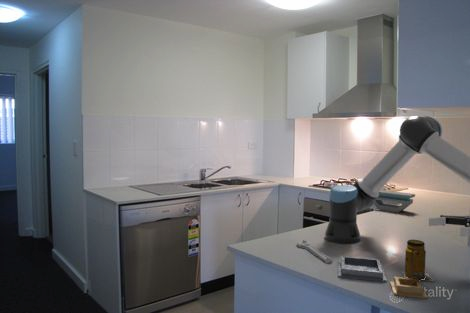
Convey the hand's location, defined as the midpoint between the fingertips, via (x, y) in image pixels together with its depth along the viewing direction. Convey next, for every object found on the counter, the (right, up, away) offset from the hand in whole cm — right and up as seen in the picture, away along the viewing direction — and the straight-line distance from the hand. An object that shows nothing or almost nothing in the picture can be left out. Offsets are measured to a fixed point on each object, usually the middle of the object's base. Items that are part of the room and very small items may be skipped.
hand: (444, 226), depth 126 cm
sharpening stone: (+24, -9, +101) cm, 104 cm away
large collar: (-27, -16, +4) cm, 32 cm away
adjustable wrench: (-39, -15, +24) cm, 49 cm away
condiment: (-10, -17, -1) cm, 19 cm away
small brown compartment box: (-18, -17, -12) cm, 27 cm away
